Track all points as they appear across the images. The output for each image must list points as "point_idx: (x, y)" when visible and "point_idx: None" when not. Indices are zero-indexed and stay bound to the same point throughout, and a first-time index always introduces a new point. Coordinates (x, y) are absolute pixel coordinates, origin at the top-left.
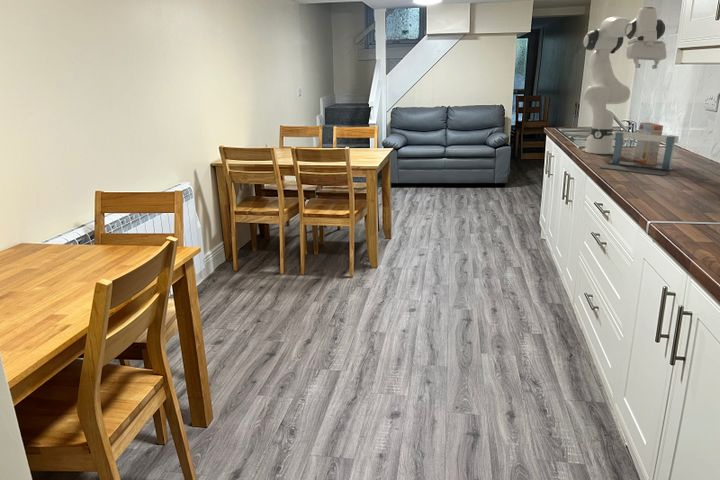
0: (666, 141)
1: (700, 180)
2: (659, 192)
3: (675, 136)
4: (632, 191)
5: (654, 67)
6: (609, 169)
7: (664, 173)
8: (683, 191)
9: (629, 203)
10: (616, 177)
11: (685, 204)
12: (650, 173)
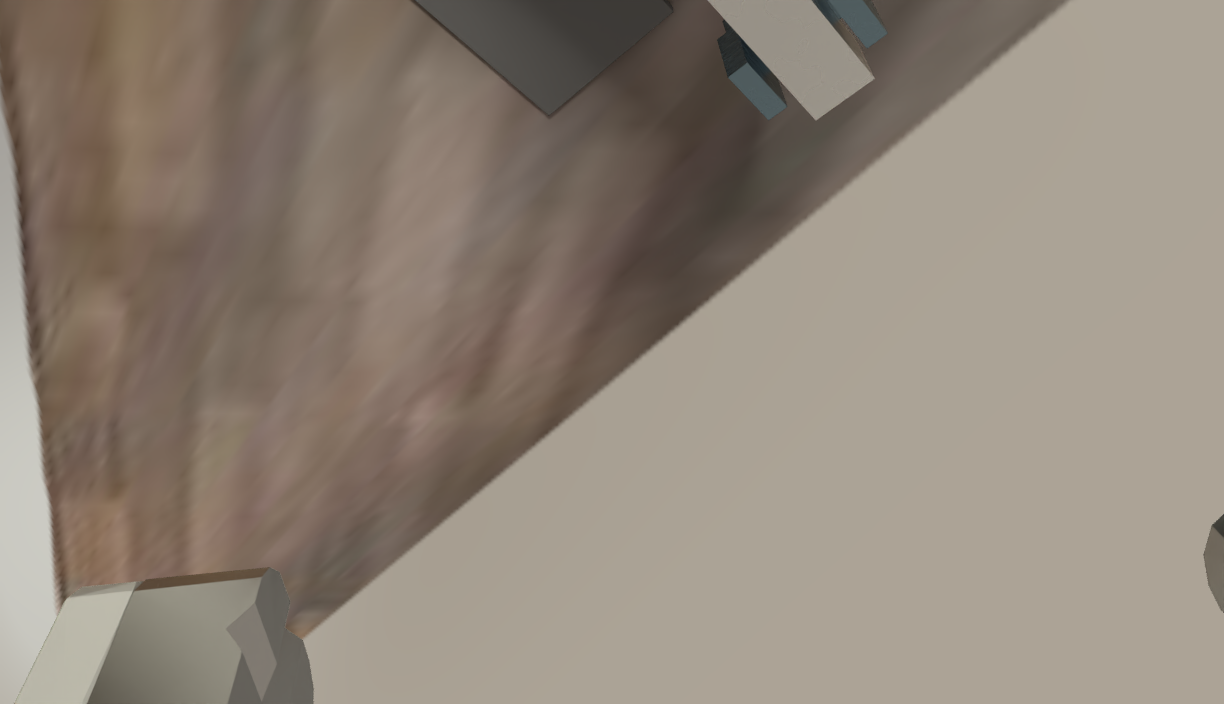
0: (721, 49)
1: (705, 230)
2: (275, 426)
3: (832, 76)
4: (135, 410)
5: (1215, 598)
6: None
7: (587, 66)
8: (413, 415)
9: (56, 542)
10: (145, 118)
11: (293, 551)
12: (475, 51)
